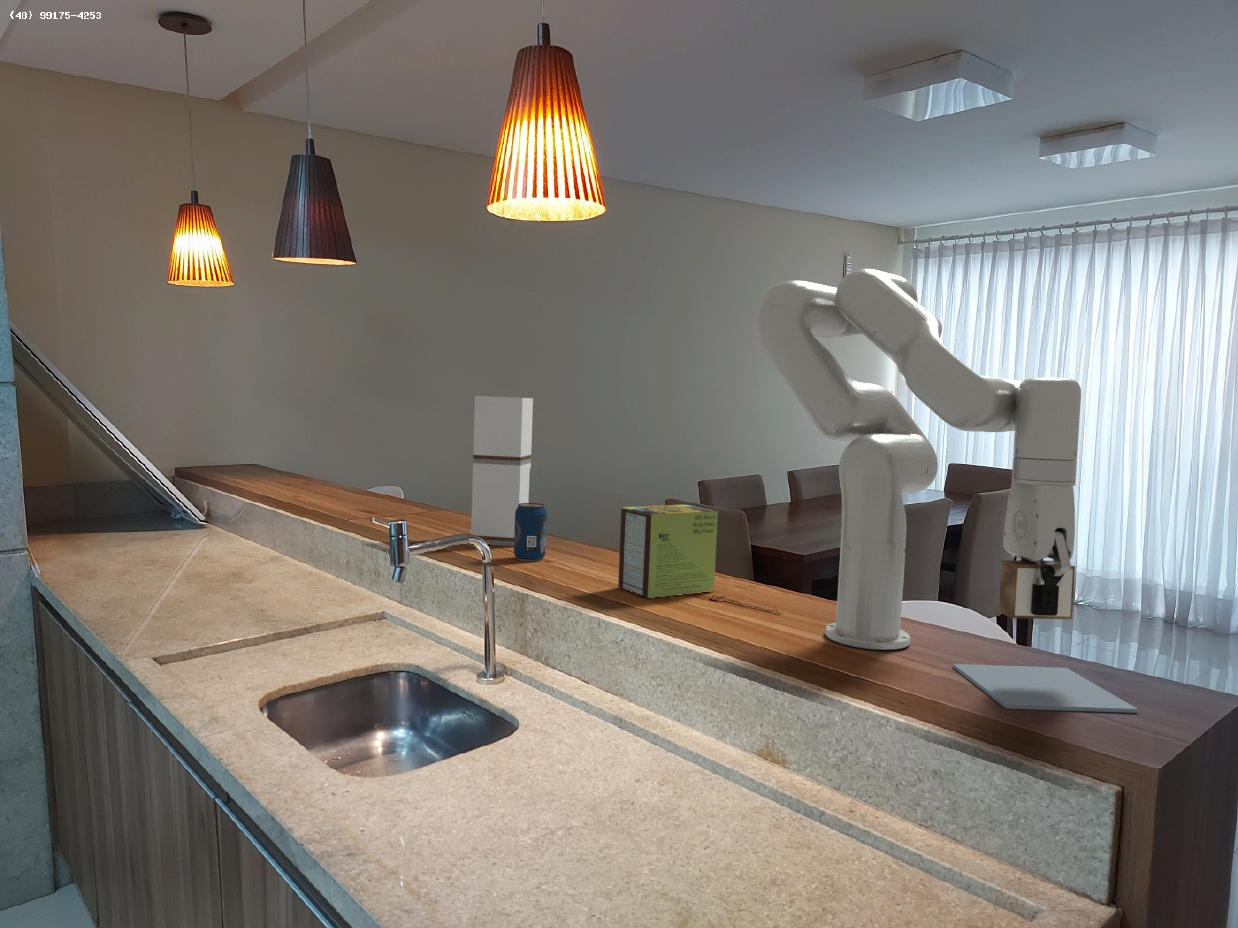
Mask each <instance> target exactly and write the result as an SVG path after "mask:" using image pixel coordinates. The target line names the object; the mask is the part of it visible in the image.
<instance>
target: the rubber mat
mask: <svg viewBox="0 0 1238 928" xmlns="http://www.w3.org/2000/svg"><path fill="white" fill-rule="evenodd" d="M952 669H954V670H955V671H956V672H957V673H959V674H961V675H962V676H963V677H964V678H966V679H967V680H968V681H970V682H971V683H972V684H973V685H975V686H976V687H977V688H979V689H980V690H981V691H983V692H984V693H985V694H987V695H988V696H989V697H991V698H992V699H994V700H995V702H997V703H998V704H999V705H1001V706H1002V707H1003V708H1005V709H1008V710H1009V709H1010V710H1011V709H1012V710H1013V709H1014V710H1035V711H1036V710H1037V711H1038V710H1039V711H1040V710H1041V711H1064V712H1065V711H1071V712H1094V713H1095V712H1098V713H1124V714H1125V713H1126V714H1127V713H1128V714H1138V708H1137V707H1135V706H1133V705H1131V704H1130V703H1128V702H1126V701H1124V700H1123V699H1121V698H1120V697H1118V696H1116V695H1114V694H1113V693H1111V692H1110V691H1108V690H1106V689H1104V688H1103V687H1100V686H1099V685H1097V684H1096V683H1093V682H1092V681H1090V680H1088V679H1087V678H1085V677H1083V676H1082V675H1080V674H1078V673H1076V672H1075V671H1073V670H1071V669H1070V668H1068V667H1052V666H1050V667H1049V666H1025V665H1023V666H1021V665H996V664H995V665H994V664H970V663H968V664H967V663H966V664H965V663H964V664H963V663H952Z"/></svg>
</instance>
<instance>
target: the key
mask: <svg viewBox="0 0 1238 928" xmlns="http://www.w3.org/2000/svg"><path fill="white" fill-rule="evenodd" d="M714 596H717V595H715V594H714V595H711V596H709V599H710V598H711V599H714V600H724V599H725V600H728V601H731V602H735V603H739V604H745V605H748V606H750V607H754V608H759V609H762V610H766V611H769V612H776V613H779V614H780V613H781V612H778V611H774V610H770V609H766V608H767V607H762V606H757V605H754V604H750V603H746V602H743V601H739V600H735V599H731V598H728V597H727V598H728V599H727V598H714ZM722 596H723V595H722ZM723 597H726V596H723ZM769 612H768V613H769Z"/></svg>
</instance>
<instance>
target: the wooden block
mask: <svg viewBox="0 0 1238 928" xmlns="http://www.w3.org/2000/svg"><path fill="white" fill-rule="evenodd" d="M1048 567H1052V565H1044V572H1045V571H1046V569H1047V568H1048ZM1075 575H1076V565H1073V564H1071V569H1070V570H1069V571H1068V572H1066V573H1065V574H1064V576H1063V577H1062V583H1061V585H1060V586H1059V596H1058V612H1057V615H1056V616H1043V615H1034V614H1032V613H1031V603H1032V587H1033V584H1037V583H1036V561H1014V559H1011V560H1009V559H1008V560H1007V559H1006V560H1005V559H1001V571H1000V583H999V584H1000V587H999V605H998V606H999V607H998V612H999V613H1000V614H1002V615H1004V616H1006V617H1009V618H1010V619H1032V620H1033V619H1034V620H1035V619H1039V620H1041V619H1042V620H1072V619H1073V610H1074V593H1075V578H1076V577H1075Z"/></svg>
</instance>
